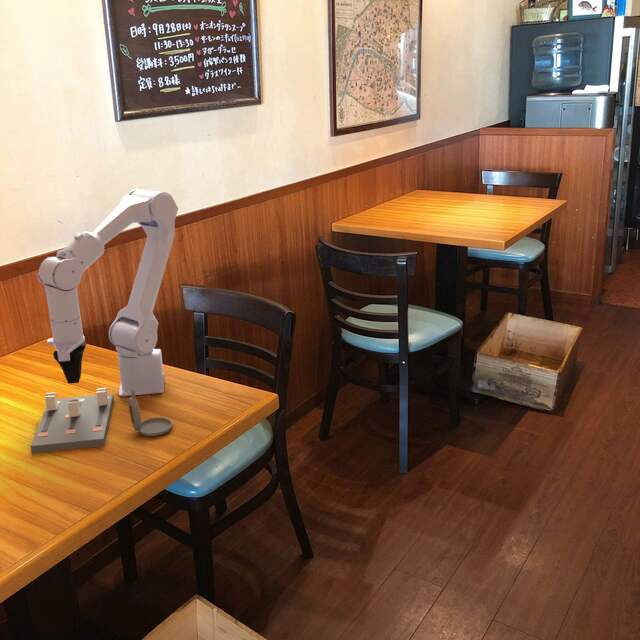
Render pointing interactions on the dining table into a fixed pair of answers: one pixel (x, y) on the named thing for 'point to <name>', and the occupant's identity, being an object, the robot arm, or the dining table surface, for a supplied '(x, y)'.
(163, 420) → the pocket watch
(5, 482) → the dining table surface
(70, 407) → the handle
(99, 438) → the panel
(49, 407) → the handle
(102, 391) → the handle
